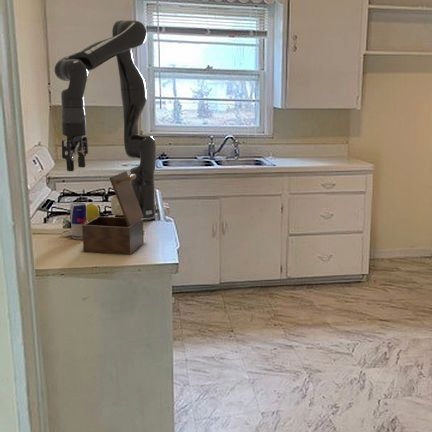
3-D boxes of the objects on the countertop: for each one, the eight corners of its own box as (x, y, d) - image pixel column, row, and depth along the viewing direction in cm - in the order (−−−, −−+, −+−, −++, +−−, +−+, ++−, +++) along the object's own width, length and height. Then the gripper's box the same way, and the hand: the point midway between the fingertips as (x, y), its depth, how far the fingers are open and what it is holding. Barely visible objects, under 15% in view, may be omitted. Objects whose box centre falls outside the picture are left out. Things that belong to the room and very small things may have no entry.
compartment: (83, 251, 185) (82, 225, 183) (99, 240, 197) (98, 216, 195) (130, 254, 184) (129, 227, 182) (143, 243, 196) (142, 218, 194)
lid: (109, 178, 179) (123, 173, 178) (124, 171, 191) (137, 167, 190) (128, 226, 182) (142, 222, 181) (141, 217, 194) (155, 213, 193)
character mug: (126, 235, 205) (125, 200, 202) (107, 234, 205) (105, 199, 202) (136, 227, 215) (135, 194, 212) (118, 226, 216) (116, 193, 213)
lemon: (96, 225, 217) (95, 205, 215) (82, 225, 217) (81, 204, 215) (101, 222, 222) (100, 202, 220) (87, 221, 222) (86, 201, 220)
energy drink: (82, 240, 198) (81, 206, 195) (68, 238, 199) (66, 205, 196) (91, 236, 203) (89, 203, 200) (77, 234, 204) (75, 201, 201)
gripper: (72, 119, 199) (75, 165, 202) (52, 122, 185) (55, 171, 189) (93, 120, 198) (95, 166, 202) (74, 123, 184) (77, 173, 188)
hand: (76, 169), depth 195 cm, fingers open, 8 cm apart
